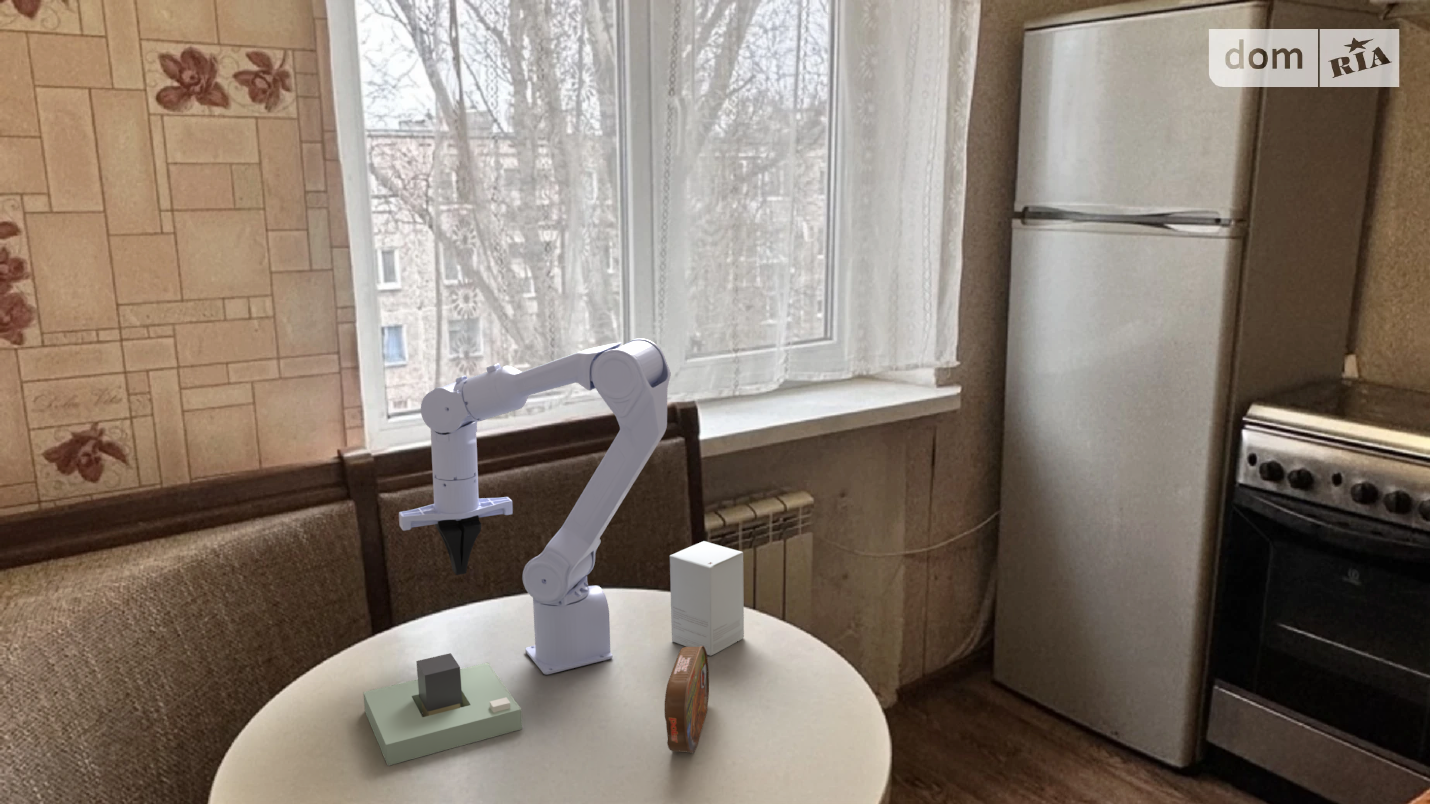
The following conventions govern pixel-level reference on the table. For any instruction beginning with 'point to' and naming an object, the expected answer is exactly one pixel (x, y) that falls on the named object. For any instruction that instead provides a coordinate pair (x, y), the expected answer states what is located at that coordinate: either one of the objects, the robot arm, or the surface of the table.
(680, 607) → the supplement box
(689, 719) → the tin
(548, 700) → the table surface
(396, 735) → the socket panel
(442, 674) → the plug
